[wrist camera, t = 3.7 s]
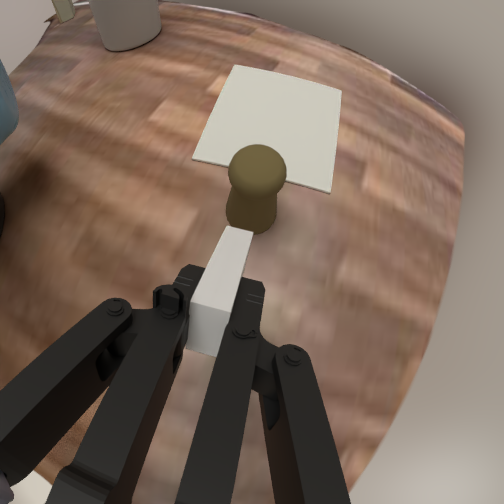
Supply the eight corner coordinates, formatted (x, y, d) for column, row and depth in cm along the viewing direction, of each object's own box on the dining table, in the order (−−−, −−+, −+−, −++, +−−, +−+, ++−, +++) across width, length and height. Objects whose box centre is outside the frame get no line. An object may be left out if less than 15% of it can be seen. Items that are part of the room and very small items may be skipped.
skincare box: (62, 16, 46) (51, -11, 35) (76, 10, 47) (66, -18, 35) (60, 24, 45) (48, -6, 33) (74, 17, 46) (63, -13, 34)
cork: (215, 218, 34) (208, 171, 23) (242, 179, 35) (246, 124, 24) (260, 244, 33) (273, 207, 23) (285, 203, 35) (306, 154, 24)
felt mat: (329, 193, 35) (330, 192, 35) (192, 159, 35) (192, 158, 35) (341, 92, 40) (341, 90, 40) (234, 66, 40) (234, 64, 40)
